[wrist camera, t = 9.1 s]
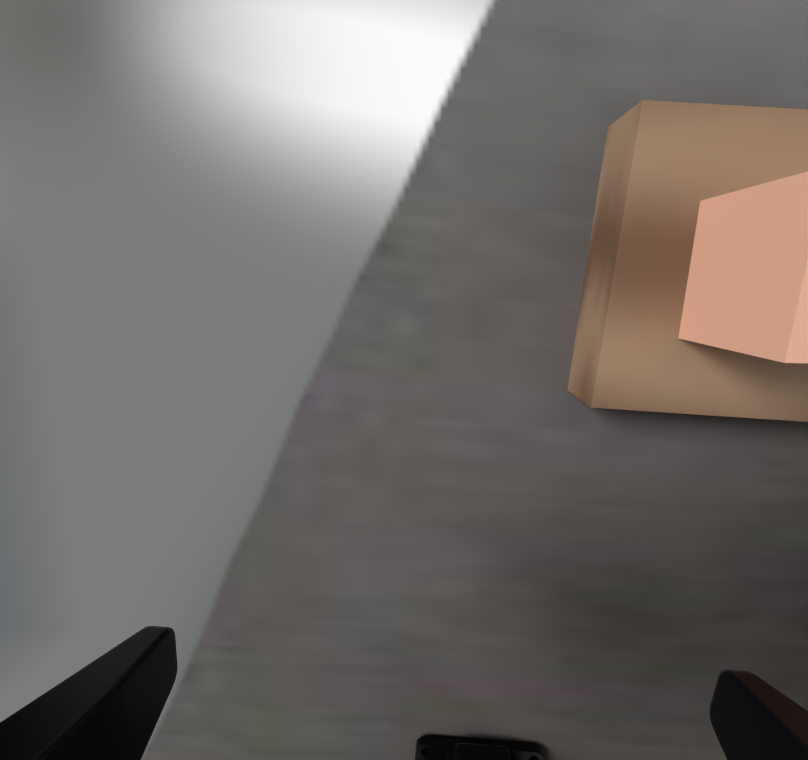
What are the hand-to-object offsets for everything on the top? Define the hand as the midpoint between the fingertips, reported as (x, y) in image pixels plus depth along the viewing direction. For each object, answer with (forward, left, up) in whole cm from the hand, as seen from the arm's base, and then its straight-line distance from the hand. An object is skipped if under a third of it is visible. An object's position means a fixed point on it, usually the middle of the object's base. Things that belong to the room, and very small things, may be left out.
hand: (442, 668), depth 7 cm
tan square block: (+7, -11, -12) cm, 18 cm away
